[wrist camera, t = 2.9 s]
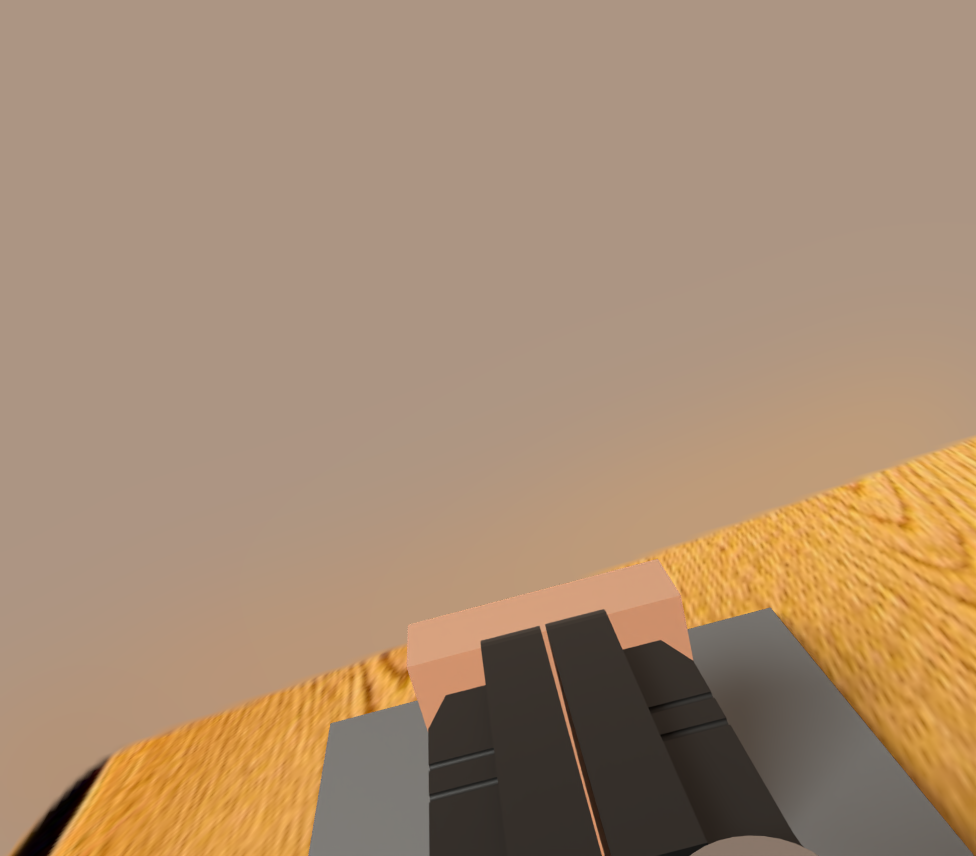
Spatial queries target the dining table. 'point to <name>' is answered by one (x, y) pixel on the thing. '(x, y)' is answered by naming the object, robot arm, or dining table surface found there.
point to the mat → (749, 710)
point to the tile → (543, 630)
